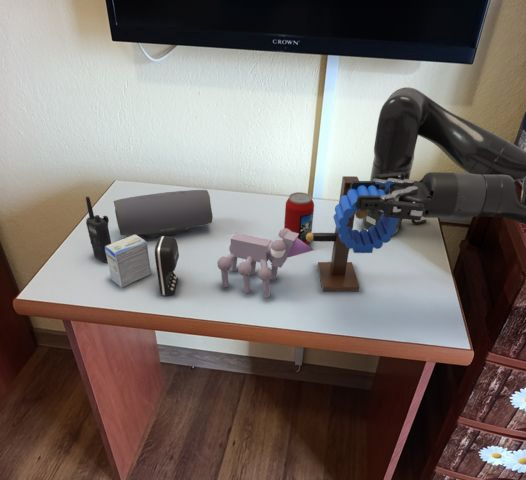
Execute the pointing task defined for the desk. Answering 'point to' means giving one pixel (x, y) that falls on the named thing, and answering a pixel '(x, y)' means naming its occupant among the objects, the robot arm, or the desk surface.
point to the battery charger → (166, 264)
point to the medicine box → (128, 260)
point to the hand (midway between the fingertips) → (354, 194)
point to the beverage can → (299, 214)
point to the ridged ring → (364, 238)
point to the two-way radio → (98, 232)
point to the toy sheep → (260, 256)
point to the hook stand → (338, 252)
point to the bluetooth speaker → (163, 212)
